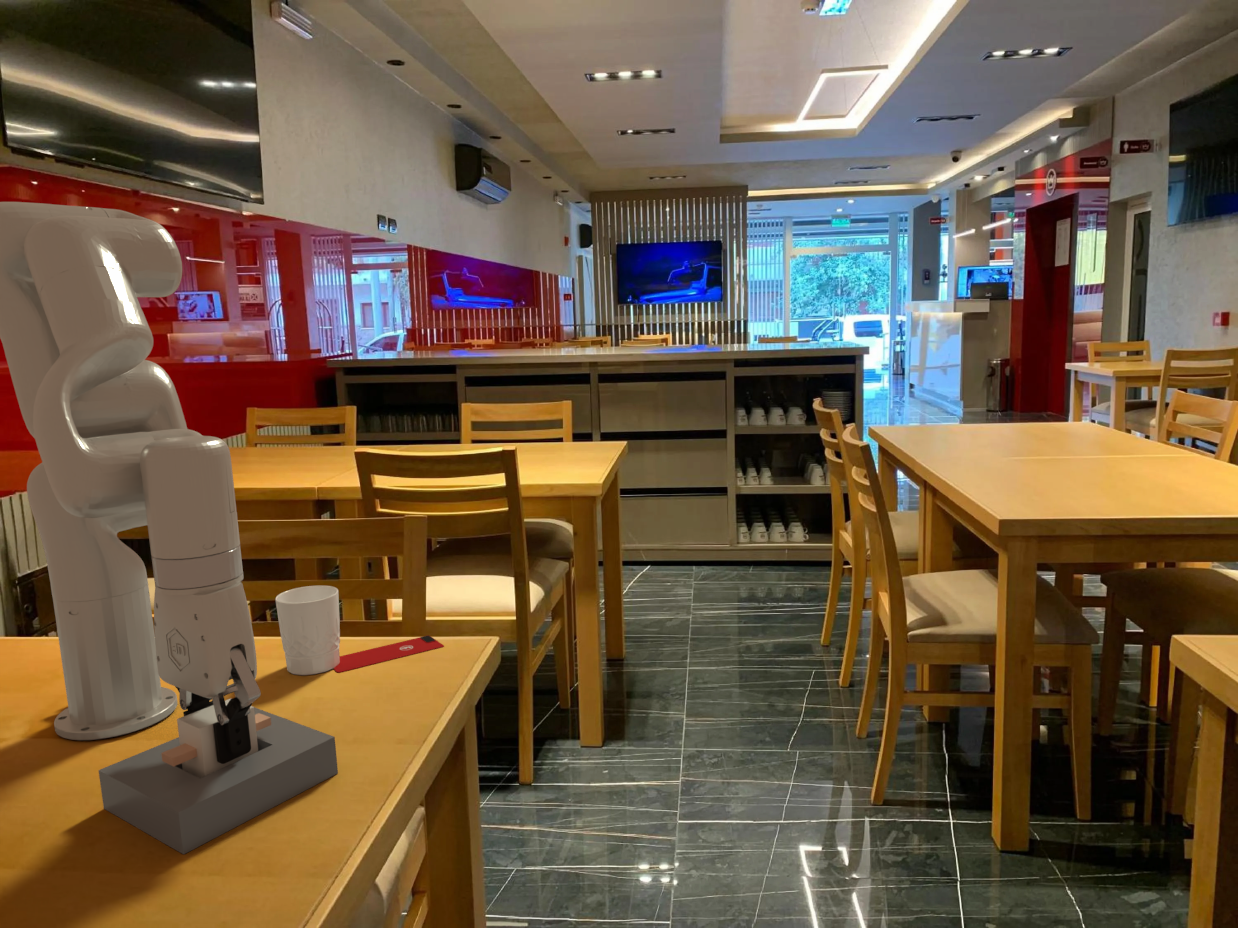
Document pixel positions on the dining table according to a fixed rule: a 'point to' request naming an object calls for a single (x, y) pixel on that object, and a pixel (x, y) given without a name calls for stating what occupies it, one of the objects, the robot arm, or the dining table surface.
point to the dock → (216, 785)
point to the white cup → (310, 628)
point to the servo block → (206, 741)
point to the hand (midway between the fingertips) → (219, 748)
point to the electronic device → (386, 653)
